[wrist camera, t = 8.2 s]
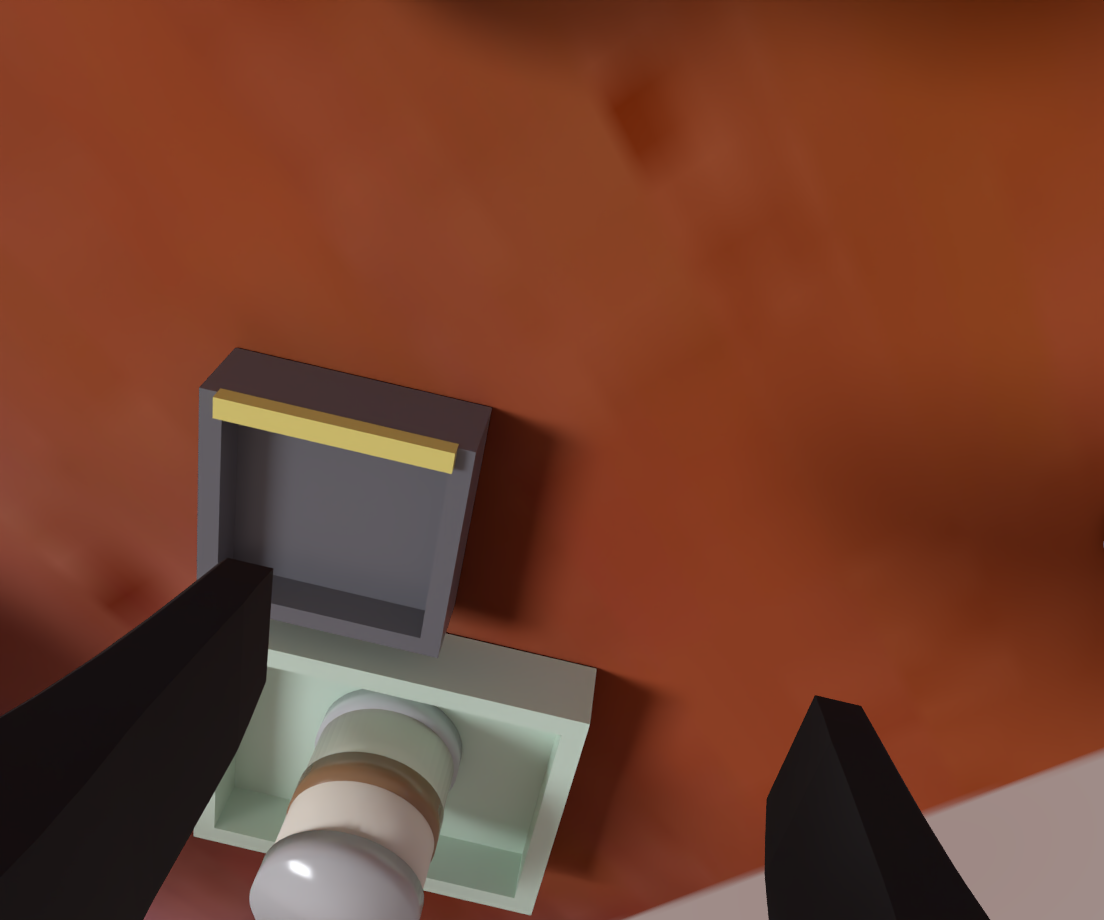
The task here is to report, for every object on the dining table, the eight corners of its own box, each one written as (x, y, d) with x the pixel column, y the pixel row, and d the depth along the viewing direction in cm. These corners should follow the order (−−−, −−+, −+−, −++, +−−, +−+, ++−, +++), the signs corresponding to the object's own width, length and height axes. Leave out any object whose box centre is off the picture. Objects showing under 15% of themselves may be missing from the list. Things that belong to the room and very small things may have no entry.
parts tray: (596, 668, 27) (590, 724, 25) (540, 857, 31) (530, 915, 30) (227, 582, 27) (196, 631, 25) (220, 782, 31) (193, 836, 30)
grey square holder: (492, 406, 23) (473, 458, 21) (454, 605, 26) (435, 665, 25) (235, 347, 23) (194, 392, 21) (228, 552, 26) (192, 608, 25)
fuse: (461, 695, 27) (412, 871, 23) (463, 797, 30) (419, 977, 25) (316, 680, 28) (238, 849, 23) (328, 781, 30) (260, 956, 25)
